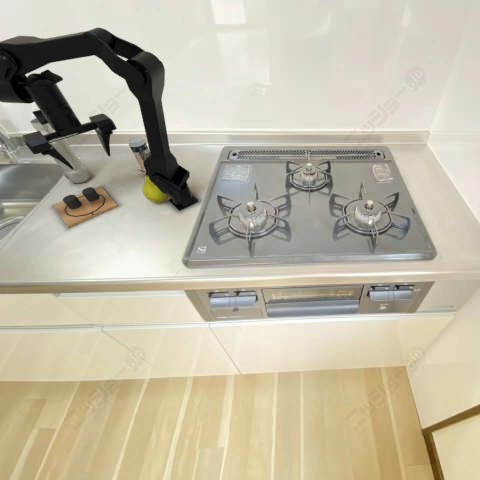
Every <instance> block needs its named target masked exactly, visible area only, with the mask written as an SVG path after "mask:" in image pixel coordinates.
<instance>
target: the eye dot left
mask: <svg viewBox="0 0 480 480" xmlns="http://www.w3.org/2000/svg"><path fill="white" fill-rule="evenodd" d="M76 196H77V195H76V194H68V195H66V196H64V197H63V198H62V202H63V201H64V203H65V204H66V205H67V206H68V207H69V208H70V209H77V208H79V207H80V206H81V205H82V203H81V202H80V201H79V200H78V198H77V197H76Z"/></svg>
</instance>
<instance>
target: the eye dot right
mask: <svg viewBox="0 0 480 480" xmlns="http://www.w3.org/2000/svg"><path fill="white" fill-rule="evenodd" d="M81 194H83V195H84V196H85V198H86V199H87V200H88V201H90V202H92V201H96V200H98V199H99V195H98V193H97V192H96V191H95V187H92V186H90V187H86V188H84V189H82V191H81Z"/></svg>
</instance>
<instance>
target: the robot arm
mask: <svg viewBox="0 0 480 480" xmlns="http://www.w3.org/2000/svg"><path fill="white" fill-rule="evenodd" d="M92 56H94V57H96V58H98V59H99V60H101V61H102V62H103V64H105V65H106V66H107V67H108V69H109V70H110V71H111V72H112V73H113V74H115V75H116V76H118V77H119V78H122V79H123V80H125V82H126V85H127V88H128V90H129V92H131V93H132V95H133V96H134V97H135V98H136V99H137V101H138V105H139V109H140V115H141V118H142V124H143V127H144V133H145V136H146V142H147V146H148V149H149V151H150V155H149V156H148V157H147V158H146V160H145V161H144V162H143V164H144V167H145V170H146V175H145V177H146V176H147V175H148V177H149V179H150V181H151V182H153V183H154V184H155V185H156V186H157V187H158V188H159V189H160V191H161V192H162V193H164V194H168V196H169V197H170V199H168V201H169V203H170V204H171V205H172V206H173V207H174V208H175V209H176V210H178V211H182V210H184V209H186V208H188V207H191V206H192V205H194V204H196V203H198V202H199V198H197V197H196V196H195V195H193V194H192V191H191V189H190V187H189V184H188V182H187V181H188V179H189V178H190V176H191V175H190V173H191V172H190V171H189V170H188V169H186V168H185V167H183V166H181V165H180V164H179V163H178V160H177V158H176V156H175V155H174V154H173V153H172V152H171V149H170V143H169V137H168V130H167V124H166V119H165V118H166V117H165V112H164V106H163V99H162V97H163V94H164V89H165V84H166V80H165V79H166V69H165V66H164V63H163V62H162V60H160V59H159V58H158V56H156V55H155V54H154V53H152V52H150V51H146V50H144V49H143V48H142V47H140V46H138V45H137V44H135V43H133V42H130V41H128V40H125V39H124V38H121V37H119V36H116V35H115V34H114V33H112V32H111V31H109V30H107V29H105V28H103V27H95V28H92V29H89V30H86V31H80V32H74V33H68V34H65V35H58V36H53V37H47V38H45V37H44V38H43V37H37V36H33V35H32V36H31V35H17V36H14V37H10V38H8V39H7V38H6V39H4V40H0V102H1V103H4V104H5V103H6V104H33V103H35V105H36V106H37V108H38V109H37V110H33V111H31V112H32V114H33V116H34V117H35V119H36V118H37V120H38V121H39V122H40V124H41V125H44V124H48V123H49V125H50V126H51V127H52V129H53V130H55V132H53V133H50V134H46V135H42V133H41V132H40V131H37V130H36V131H33V132H30V133H26V134H22V137H21V140H22V141H23V142H24V144H25V146H26V147H27V148H28V149H29V150H30V152H31V153H32V154H33V155H40V154H41V155H42V156H50V157H52V158H53V157H54V158H56V159H58V160H59V161H61V162H62V163H64V164H65V165H67V166H68V167H69V168H71V169H74V168H73V167H72V166H71V164H70V163H69V162H68V161H67V160H66V159H65V158H64V157H63V156H62V155H61V154H60V152H59V151H58V150H57V149H56V148H55V147H54V146H53V145H52V144H51V143H52V142H55V141H58V140H62V139H65V138H66V139H69V138H71V137H75V136H78V135H81V134H84V133H88V132H92V131H94V132H95V133H96V135H97V137H98V139H99V141H100V144H101V146H102V148H103V150H104V152H105V153H106V155H107V156H108V157H111V146H110V142H111V135H113V134H114V131H116V130H117V129H118V128H117V126H116V124H115V121H113V119H112V118H111V117H109V116H108V115H107V114H105V113H103V112H102V113H98V114H95V115H90V116H89V117H88V118H89V121H88V122H85V123H81V121H80V119H79V118H78V116H77V114H76V113H75V111H74V110H73V108H72V106H71V105H70V104H69V102H68V100H67V99H66V97H65V96H64V94H63V92H62V90H61V89H60V87H59V86H58V83H61V82H62V81H63V80H64V78H63V76H61V75H60V74H57V73H54V72H52V71H51V70H50V69H45V70H43V71H41V72H40V73H38V72H36V73H34V71H37V70H38V69H41V68H43V67H45V66H47V65H50V64H52V63H58V62H63V61H70V60H74V59H81V58H86V57H87V58H88V57H92ZM123 58H124V59H123ZM125 59H126V60H125ZM32 72H33V73H32ZM27 74H28V75H27ZM54 158H53V159H54Z"/></svg>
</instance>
